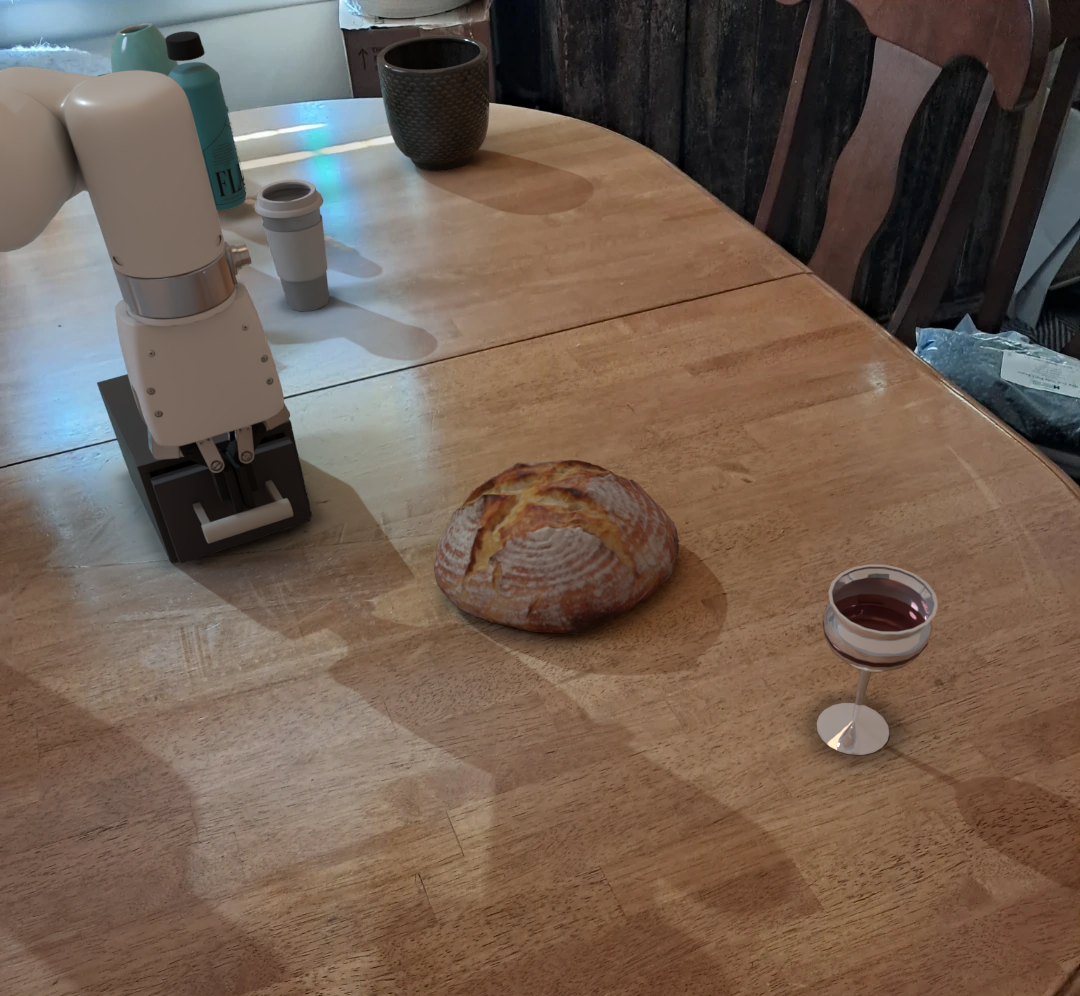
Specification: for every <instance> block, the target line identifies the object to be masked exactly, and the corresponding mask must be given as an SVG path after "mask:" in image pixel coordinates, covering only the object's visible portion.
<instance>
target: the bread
mask: <svg viewBox="0 0 1080 996" xmlns="http://www.w3.org/2000/svg"><path fill="white" fill-rule="evenodd" d="M679 543H680V538H679V535H678V529H677V526H676V525H675V521H674V520H673V519H672V518H671V517H670V516H669V515H668V514H667V512H666V511H665V510H664V508H663V507H661V505H660V504H659V503H658V502H656V500H655V499H654V498H652V497H651V496H650V494H648V492H647V491H646V490H645V489H644V488H643V487H641V486H640V485H639V483H638V482H636V481H635V480H634V479H629V478H627V477H624V476H621V475H618V474H615V473H613V472H612V471H611V470H610V469H607V468H604V467H602V466H600V465H598V464H594V463H591V462H588V461H584V460H579V459H564V460H563V459H558V460H557V459H556V460H549V461H537V462H533V461H531V462H523V461H518V462H516V463H515V464H513V465H510V466H509V467H507V468H506V469H505V470H503V471H501V472H500V473H499V474H497V475H494V476H492V477H491V478H489V479H486V480H485V481H484V482H483V483H482V484H480V485H479V486H477V487H476V488H475V489H473V490H471V492H470V493H469V494H468V495H467V497H466V498H465V499H464V500H463V502H462V504H461V505H460V507H459V508H457V509H456V510H455V511H454V512H452V514H451V518H450V520H449V522H448V523H447V526H446V528H445V529H444V531H443V533H442V535H441V537H440V539H439V542H438V545H437V548H436V552H435V556H434V557H435V558H434V562H433V570H434V578H435V582H436V584H437V586H438V588H439V589H440V591H441V592H442V593H443V594H444V595H445V596H446V597H447V598H448V600H449V601H450V602H451V603H452V604H453V605H454V606H455V607H456V608H458V609H460V610H462V611H463V612H466V613H468V614H470V615H471V616H474V617H476V618H478V619H481V620H485V621H488V622H491V623H494V624H498V625H499V624H500V625H504V626H506V627H512V628H516V629H520V630H523V631H524V630H525V631H527V632H532V633H548V634H549V633H551V634H567V635H568V634H569V635H581V634H583V633H585V632H587V631H589V630H591V629H593V628H595V627H599V626H600V625H601V626H602V625H603V624H607V623H609V622H611V621H612V620H615V619H617V618H618V617H620V616H622V615H624V614H626V613H627V612H630V610H631V609H633V608H634V607H637V605H640V604H641V603H643V602H644V601H645V600H646V599H647V598H649V597H650V596H651V595H653V594H654V593H655V591H656V590H657V588H658V587H660V586H661V585H664V584H665V583H666V582H667V581H668V580H669V579H670V577H671V576H672V575H673V573H674V571H675V570H674V569H675V562H676V559H677V558H678V556H679V552H680V551H679V547H680V544H679Z"/></svg>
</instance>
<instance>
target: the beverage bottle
mask: <svg viewBox="0 0 1080 996" xmlns="http://www.w3.org/2000/svg"><path fill="white" fill-rule="evenodd" d="M165 41H166V47H167V54H168V58H169V59H171V60H174V61H177V62H185V63H181V64H178V66H176V67H174V68H173V69H172V70H171V72H170V73H169V75H168V77H170V78H172V79H174V80H175V81H176V82H177V83H178V84H179V85H180V86H181V88H182V89H183V91H184V92H185V94H186V96H187V98H188V101H189V104H190V107H191V111H192V114H193V118H194V122H195V126H196V130H197V134H198V138H199V142H200V146H201V150H202V154H203V158H204V162H205V166H206V170H207V174H208V178H209V182H210V186H211V190H212V194H213V198H214V202H215V206H216V210H217V212H218V211H226V210H231V209H234V208H237V207H239V206H241V205H243V204H244V203H245V202H246V199H247V191H248V189H247V187H246V182H245V177H244V172H243V171H242V168H243V167H242V166H241V165H242V164H241V159H240V157H239V156H238V150H237V148H238V146H237V145H236V141H235V139H234V135H233V134H234V131H233V128H232V126H233V124H232V122H231V120H230V115H229V114H230V111H229V107H228V105H227V103H226V96H225V95H224V92H223V87H222V84H221V83H222V82H221V77H220V74H219V72H218V71H217V70H216V69H215V68H213V67H212V66H211V65H209V64H207V63H205V62H200V61H192V60H197V59H199V58H201V57H203V56H204V55H205V53H206V52H205V47H204V46H203V43H202V39H201V37H200V34H199V33H198V32H196V31H193V30H192V31H191V30H189V31H188V30H186V31H184V30H183V31H178V32H173V33H171V34H169V35H167V36H166V37H165ZM187 61H190V62H187Z"/></svg>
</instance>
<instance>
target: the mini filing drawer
mask: <svg viewBox="0 0 1080 996" xmlns="http://www.w3.org/2000/svg"><path fill="white" fill-rule="evenodd" d="M225 452H227V449H226V450H223V451H222V453H224V455H225V457H226V454H225ZM251 463H252V467H253V471H254V474H255V478H256V482H257V485H258V490H257V491H254V492H252V495H253V498H254V502H255V506H256V507H255V508H252V509H249V508H246V507H245V505H244V504H243V505H244V508H245V509H243V512H240V513H236V512H235V510H234V508H233V507H232V505H231V503H230V501H229V500H226V501H223V502H222V501H221V499H220V498H219V495H218V493H217V490H216V487H215V484H214V481H213V477H212V474H211V471H210V469H209V468H208V467H206V466H203V465H201V464H199V463H197V462H194V461H192V460H189V461H186V462H183V463H179V464H176V465H173V466H170V467H166V468H163V469H160V470H156V471H153V472H150V474H151V477H152V478H150V480H151V483H152V486H153V489H154V492H155V495H156V498H157V501H158V504H159V506H160V509H161V512H162V515H163V518H164V521H165V524H166V527H167V530H168V532H169V535H170V538H171V541H172V544H173V547H174V550H175V553H176V556H177V558H178V560H179V561H178V563H179V564H184V563H188V562H191V561H194V560H197V559H199V558H203V557H206V556H208V555H212V554H215V553H218V552H220V551H224V550H227V549H230V548H233V547H236V546H240V545H243V544H245V543H248V542H252V541H255V540H258V539H260V538H263V537H267V536H270V535H273V534H276V533H279V532H282V531H285V530H288V529H291V528H295V527H298V526H300V525H303V524H306V523H309V522H311V518H310V516H309V512H308V507H307V503H306V499H305V494H304V490H303V486H302V481H301V477H300V473H299V468H298V464H297V460H296V455H295V451H294V447H293V443H292V441H291V440H290V438H289V437H288V436H287V437H284V438H280V439H276V435H272V436H269V437H266V438H262V440H261V441H260V443H259V445H258V446H257V448H256V449H255V451H254V459H253V461H252V462H251Z"/></svg>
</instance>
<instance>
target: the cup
mask: <svg viewBox="0 0 1080 996" xmlns="http://www.w3.org/2000/svg"><path fill="white" fill-rule="evenodd" d="M323 204H324V198H323V196H322V193H321V192H319V190H317V188H316V186H315V184H314V183H313V182H311V181H308V180H303V179H284V180H278V181H273V182H271V183H268V184H266V185H264V186H262V187H261V188H260V189H259V190H258V192H257V198H256V200H255V202H254V211H255V212H256V213H257V214H258V215H260V216H261V220H262V227H263V231H264V235H265V237H266V240H267V244H268V247H269V252H270V254H271V257H272V261H273V264H274V267H275V271H276V274H277V277H278V278H279V280H280V283H281V288H282V290H283V294H284V297H285V300H286V304H287V306H288V308H290V309H291V310H294V311H299V312H311V311H315V310H319V309H321V308H323V307H324V306H326V305H327V304H328V303H329V302H330V293H329V283H328V273H327V271H328V262H327V250H326V242H325V232H324V222H323V216H322V214H321V207H322V206H323Z"/></svg>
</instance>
